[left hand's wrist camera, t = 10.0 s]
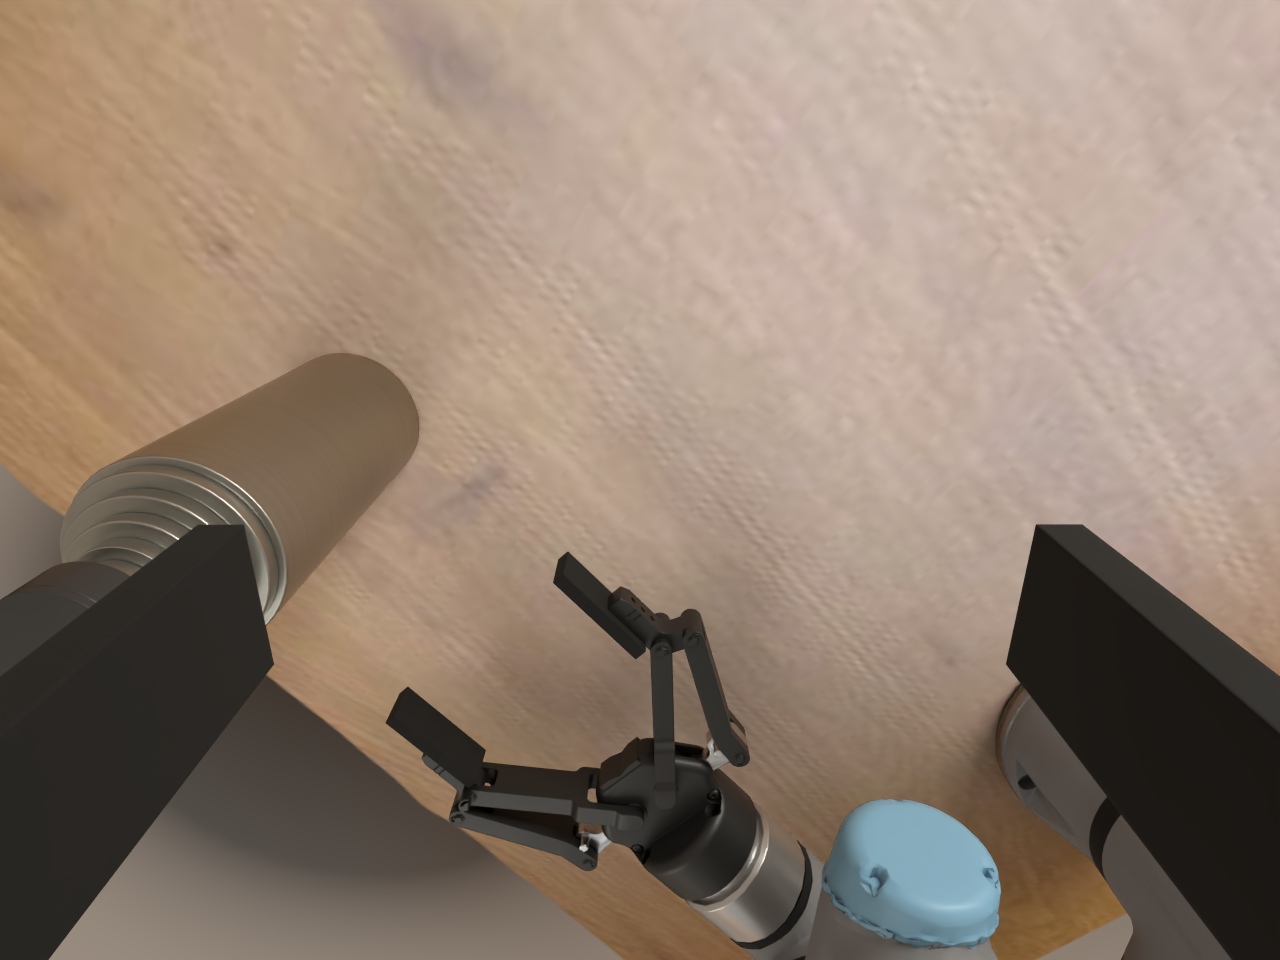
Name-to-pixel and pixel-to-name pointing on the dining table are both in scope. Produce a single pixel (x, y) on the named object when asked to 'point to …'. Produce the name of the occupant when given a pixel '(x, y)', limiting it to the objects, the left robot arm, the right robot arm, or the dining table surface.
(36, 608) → the cap
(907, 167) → the dining table surface
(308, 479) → the bottle
